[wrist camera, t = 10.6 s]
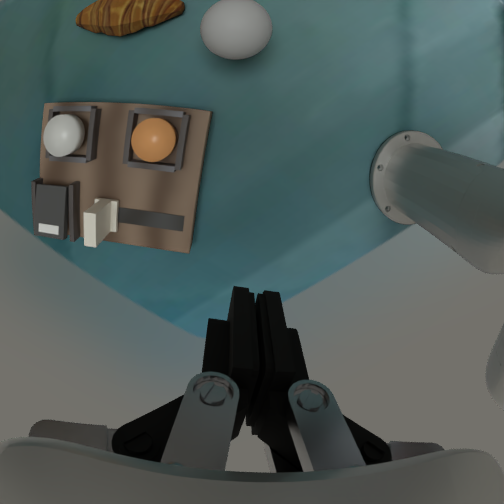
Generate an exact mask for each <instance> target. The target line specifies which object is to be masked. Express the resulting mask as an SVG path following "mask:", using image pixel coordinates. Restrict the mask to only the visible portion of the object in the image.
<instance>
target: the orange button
mask: <svg viewBox="0 0 504 504" xmlns="http://www.w3.org/2000/svg"><path fill="white" fill-rule="evenodd" d="M177 139H178V136H177V131H176V129H175V127H174V125H173V124H172V123H171V122H169V121H168V120H166V119H163V118H149V119H146V120H144V121H142V122H141V123H139V124H138V125H137V126H136V128H135V129H134V131H133V134H132V138H131V144H132V148H133V150H134V152H135V154H136V155H137V156H138V157H139V158H141V159H142V160H144V161H147V162H156V161H160V160H162V159H164V158H165V157H167V156H168V155H170V154H171V153H172V152H173V150H174V149H175V147H176V144H177Z"/></svg>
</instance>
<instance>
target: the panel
mask: <svg viewBox="0 0 504 504" xmlns="http://www.w3.org/2000/svg"><path fill="white" fill-rule="evenodd" d="M64 114H73V115H76V116H77V117H79V118H80V119H81V121H82V122H83V125H84V129H85V136H84V140H83V143H82V145H81V146H80V148H79V149H78V150H77V151H75V152H74V153H71V154H68V155H65V156H62V157H56V156H53V155H51V154H50V153H49V152H48V151H47V149H46V147H45V145H44V140H43V135H44V130H45V127H46V125H47V123H48V122H49V121H50V120H51V119H52V118H53V117H55V116H57V115H64ZM211 117H212V112H211V111H205V110H197V109H189V108H180V107H170V106H160V105H147V104H131V103H105V102H66V103H45V105H44V113H43V123H42V135H41V153H40V178H38V179H36V180H33V181H31V182H32V211H33V226H34V235H35V204H36V188H37V184H51V185H61V186H69V209H68V230H67V235H70V241H72V242H75V241H76V240H77V239H78V238H79V237H84V211H86V210H87V209H88V208H90V207H91V206H92V205H94V204H95V198H105V199H113V200H119V208H118V231H117V232H111V231H110V233H109V234H108V235H107V236H106V237H105V238H104V239H103V240H104V241H111V242H117V243H124V244H130V245H137V246H143V247H150V248H156V249H163V250H169V251H176V252H183V253H189V252H190V249H191V245H192V240H193V232H194V224H195V216H196V209H197V202H198V195H199V188H200V182H201V175H202V169H203V163H204V156H205V150H206V145H207V139H208V133H209V127H210V122H211ZM149 118H163V119H166V120H168V121H169V122H171V123H172V124H173V125H174V127H175V129H176V131H177V136H178V139H177V144H176V147H175V149H174V150H173V152H172V153H171V154H170V155H168V156H167V157H165V158H164V159H162V160H160V161H156V162H147V161H144V160H142V159H141V158H139V157H138V156H137V155H136V154H135V152H134V150H133V148H132V144H131V138H132V134H133V131H134V129H135V128H136V126H137V125H138V124H139V123H141V122H142V121H144V120H146V119H149ZM37 236H38V235H37Z"/></svg>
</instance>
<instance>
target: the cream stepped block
mask: <svg viewBox="0 0 504 504" xmlns="http://www.w3.org/2000/svg"><path fill="white" fill-rule="evenodd" d="M118 208H119V200H113V199H105V198H95V204H94V205H92V206H91V207H90V208H88V209H87V210H86V211H84V246H90V247H97V246H98V245H99V244H100V243H101V241H102V240H103V239H104V238H105V237H106V236H107V235H108V234H109V233H110V231H111V232H117V231H118Z"/></svg>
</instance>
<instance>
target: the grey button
mask: <svg viewBox="0 0 504 504" xmlns="http://www.w3.org/2000/svg"><path fill="white" fill-rule="evenodd" d="M84 136H85V129H84V125H83V122H82V121H81V119H80V118H79V117H77V116H76V115H73V114H64V115H57V116H55V117H53V118H52V119H51V120H50V121H49V122H48V123H47V125H46V127H45V130H44V135H43V140H44V145H45V147H46V149H47V151H48V152H49V153H50V154H51V155H53V156H56V157H62V156H65V155H68V154H71V153H74V152H75V151H77V150H78V149H79V148H80V146H81V145H82V143H83V140H84Z"/></svg>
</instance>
